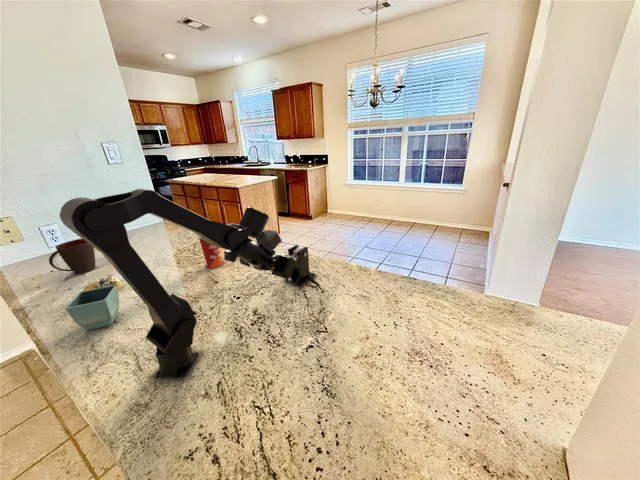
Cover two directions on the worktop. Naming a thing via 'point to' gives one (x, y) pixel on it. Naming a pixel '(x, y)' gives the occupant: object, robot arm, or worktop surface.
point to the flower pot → (95, 307)
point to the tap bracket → (300, 267)
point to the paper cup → (211, 254)
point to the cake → (103, 282)
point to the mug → (76, 256)
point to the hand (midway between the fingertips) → (282, 270)
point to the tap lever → (295, 252)
